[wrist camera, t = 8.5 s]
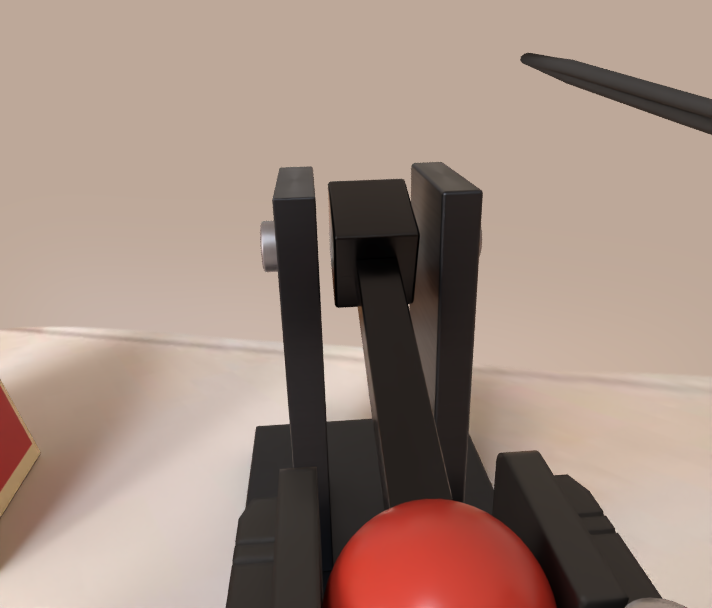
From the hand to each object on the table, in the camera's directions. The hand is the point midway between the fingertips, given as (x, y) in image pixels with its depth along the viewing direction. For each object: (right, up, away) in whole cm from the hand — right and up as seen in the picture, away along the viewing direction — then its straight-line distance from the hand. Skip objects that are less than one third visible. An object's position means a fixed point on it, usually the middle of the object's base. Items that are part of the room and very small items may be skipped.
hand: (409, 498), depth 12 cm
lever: (0, +1, +2) cm, 2 cm away
